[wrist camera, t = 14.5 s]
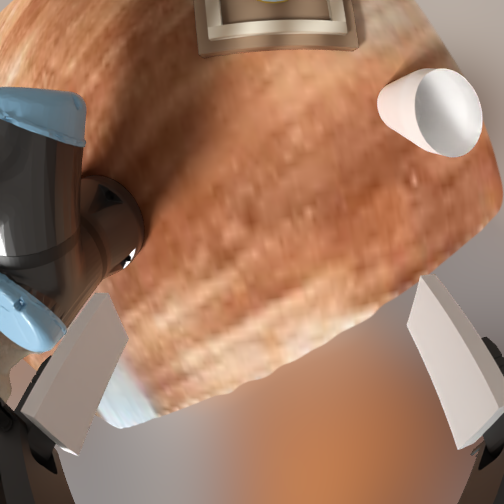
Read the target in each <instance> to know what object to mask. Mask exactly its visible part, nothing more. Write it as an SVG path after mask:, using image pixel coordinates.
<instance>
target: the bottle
mask: <svg viewBox="0 0 504 504" xmlns="http://www.w3.org/2000/svg"><path fill="white" fill-rule="evenodd" d="M257 1H260V2H264V3H281V2H285V1H288V0H257Z"/></svg>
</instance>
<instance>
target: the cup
mask: <svg viewBox="0 0 504 504" xmlns="http://www.w3.org/2000/svg"><path fill="white" fill-rule="evenodd" d="M377 107H378V112H379V115H380V117H381V119H382V120H383V122H384V123H385V124H386V125H387V126H388V127H390V128H391V129H393V130H394V131H396V132H398V133H399V134H401V135H402V136H404V137H405V138H407V139H408V140H410V141H411V142H413V143H414V144H416V145H417V146H419V147H420V148H422V149H424V150H426V151H428V152H432V153H436V154H440V155H443V156H447V157H460V156H463V155H465V154H466V153H468V152H469V151H470V150H471V149H472V148H473V147H474V146H475V144H476V143H477V141H478V139H479V136H480V133H481V129H482V109H481V105H480V101H479V98H478V96H477V94H476V92H475V90H474V89H473V87H472V86H471V84H470V83H469V82H468V81H467V80H466V79H465V78H464V77H463V76H462V75H460V74H459V73H457V72H455V71H453V70H450V69H443V68H442V69H431V68H425V69H420V70H417V71H414V72H412V73H410V74H408V75H406V76H404V77H402V78H400V79H398V80H396V81H394V82H392V83H390V84H388V85H386V86H385V87H384V88H383V89H382V90H381V91H380V93H379V96H378V100H377Z"/></svg>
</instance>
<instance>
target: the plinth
mask: <svg viewBox="0 0 504 504" xmlns="http://www.w3.org/2000/svg"><path fill="white" fill-rule="evenodd" d="M194 10H195V22H196V33H197V43H198V53H199V55H200V56H201V57H202V58H207V57H213V56H220V55H228V54H236V53H245V52H256V51H270V50H298V49H313V50H341V51H354V50H356V49H358V48H359V46H358V39H357V31H356V24H355V18H354V12H353V6H352V1H351V0H288V1H285V2H281V3H264V2H260V1H257V0H194Z"/></svg>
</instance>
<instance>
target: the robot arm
mask: <svg viewBox="0 0 504 504" xmlns="http://www.w3.org/2000/svg"><path fill="white" fill-rule="evenodd" d="M85 121H86V104H85V101H84V100H83V98H82V97H81V96H80V95H78V94H77V93H74V92H68V91H59V90H49V89H37V88H22V87H0V331H1V332H2V333H3V334H4V335H5V336H7V337H8V338H9V339H10V340H12V341H13V342H15V343H16V344H18V345H19V346H21V347H23V348H25V349H27V350H30V351H33V352H39V353H42V352H45V351H49V350H51V349H52V348H53V347H54V346H55V345H56V343H57V342H58V341H59V340H60V339H61V338H62V336H64V335H65V334H66V332H67V328H68V327H69V325H70V324H71V322H72V321H73V320H74V318H75V317H76V315H77V314H78V312H79V311H80V310H81V308H82V307H83V305H84V304H85V303H86V301H87V300H88V298H89V297H90V296H91V294H92V293H93V292H94V290H95V289H96V288H97V286H98V285H99V283H100V282H101V281H102V280H103V279H105V278H107V277H109V276H111V275H113V274H115V273H117V272H119V271H121V270H123V269H124V268H126V267H127V266H128V265H129V264H130V263H131V262H132V261H133V259H134V258H135V257H136V255H137V254H138V252H139V251H140V249H141V247H142V244H143V240H144V222H143V218H142V214H141V211H140V209H139V207H138V205H137V203H136V201H135V199H134V198H133V197H132V195H131V194H130V193H129V192H128V191H127V190H126V189H125V188H124V187H123V186H122V185H121V184H119V183H118V182H116V181H115V180H113V179H110V178H108V177H105V176H99V175H92V176H87V177H84V178H82V179H81V170H82V157H83V147H85V144H86V141H85V139H84V135H85ZM407 327H408V329H409V331H410V333H411V336H412V338H413V340H414V342H415V344H416V346H417V348H418V350H419V352H420V355H421V357H422V359H423V361H424V363H425V366H426V368H427V370H428V372H429V375H430V377H431V379H432V382H433V384H434V387H435V389H436V391H437V394H438V396H439V399H440V401H441V404H442V407H443V409H444V412H445V414H446V417H447V420H448V423H449V426H450V428H451V431H452V434H453V437H454V440H455V443H456V446H457V449H458V450H459V449H461V448H464V447H466V446H468V445H470V444H473V443H474V442H475V441H476V440H477V439H479V438H480V437H481V436H482V435H483V437H484V441H483V442H482V443H480V444H479V445H478V446H477V447H476V448H475V449H474V450H473V451H472V453H471V455H474V454H475V453H476V452H477V451H479V452H478V454H477V455H476V457H477V458H476V461H475V464H474V466H473V469H472V472H471V474H470V477H469V479H468V482H467V484H466V486H465V489H464V491H463V493H462V496H461V498H460V500H459V502H458V504H504V357H502V354H501V352H500V351H499V349H498V348H497V346H496V345H495V344H494V343H493V342H492V341H491V340H490V339H488V338H487V337H484V338H480V336H479V335H478V333H477V331H476V330H475V328H474V327H473V325H472V324H471V322H470V321H469V319H468V318H467V317H466V315H465V314H464V312H463V311H462V309H461V308H460V307H459V305H458V304H457V302H456V301H455V300H454V298H453V297H452V296H451V294H450V293H449V292H448V290H447V289H446V288H445V287H444V285H443V284H442V282H441V281H440V280H439V279H438V277H437V276H436V275H435V274H431V275H422V276H420V279H419V283H418V287H417V291H416V295H415V299H414V302H413V306H412V310H411V313H410V316H409V319H408V323H407ZM128 339H129V338H128V336H127V334H126V331H125V329H124V327H123V325H122V323H121V321H120V319H119V316H118V314H117V312H116V310H115V307H114V305H113V303H112V300H111V298H110V296H109V293H95V294H94V295H93V296H92V298H91V299H90V301H89V302H88V303H87V305H86V306H85V308H84V309H83V310H82V312H81V313H80V315H79V316H78V317H77V319H76V320H75V322H74V323H73V325H72V326H71V328H70V329H69V331H68V332H67V334H66V335H65V337H64V338H63V340H62V341H61V343H60V344H59V346H58V347H57V349H56V351H55V352H54V354H53V355H52V356H49V357H48V358H47V359H46V360H45V361H44V362H43V363H42V364H41V366H40V367H39V369H38V371H37V373H36V375H35V376H34V377H33V379H32V383H30V384H29V386H28V388H27V389H26V391H25V393H24V395H23V397H22V398H21V400H20V402H19V404H18V406H17V407H16V409H15V411H13V410H12V409H11V408H10V407H9V406H8V405H7V404H6V403H5V402H4V401H3V400H2V398H1V397H0V504H75V502H74V500H73V497H72V495H71V492H70V489H69V486H68V484H67V481H66V478H65V475H64V472H63V469H62V466H61V462H60V459H59V455H58V453H57V451H56V449H55V448H54V446H55V444H57V445H58V446H59V447H60V448H62V449H63V450H64V451H67V452H69V453H72V454H74V455H77V456H79V454H80V451H81V449H82V446H83V443H84V441H85V438H86V435H87V433H88V430H89V428H90V425H91V423H92V420H93V418H94V415H95V413H96V410H97V408H98V406H99V403H100V401H101V399H102V396H103V394H104V392H105V389H106V387H107V385H108V382H109V380H110V378H111V376H112V373H113V371H114V369H115V367H116V365H117V362H118V360H119V358H120V356H121V354H122V352H123V350H124V348H125V345H126V343H127V341H128Z"/></svg>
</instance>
